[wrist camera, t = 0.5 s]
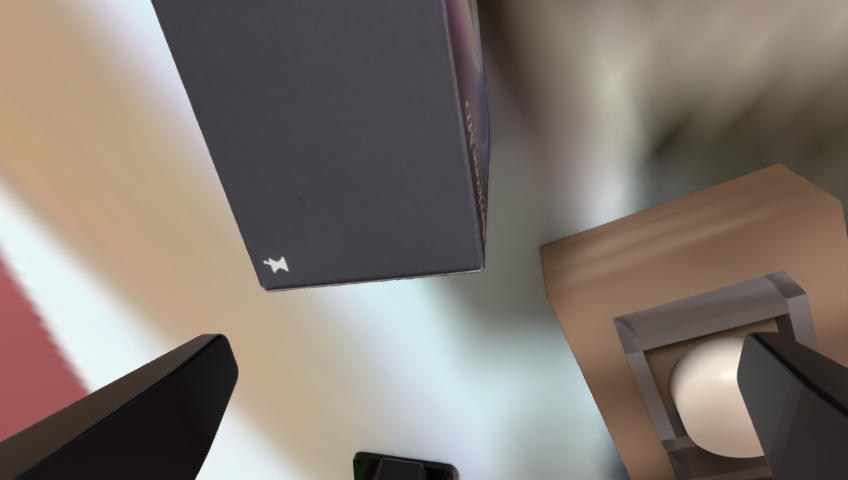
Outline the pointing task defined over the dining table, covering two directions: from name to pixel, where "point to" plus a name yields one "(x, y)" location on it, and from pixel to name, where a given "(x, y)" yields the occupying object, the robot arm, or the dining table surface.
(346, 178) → the small box
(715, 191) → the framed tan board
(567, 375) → the dining table surface
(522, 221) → the dining table surface
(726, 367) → the button cream
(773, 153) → the dining table surface
